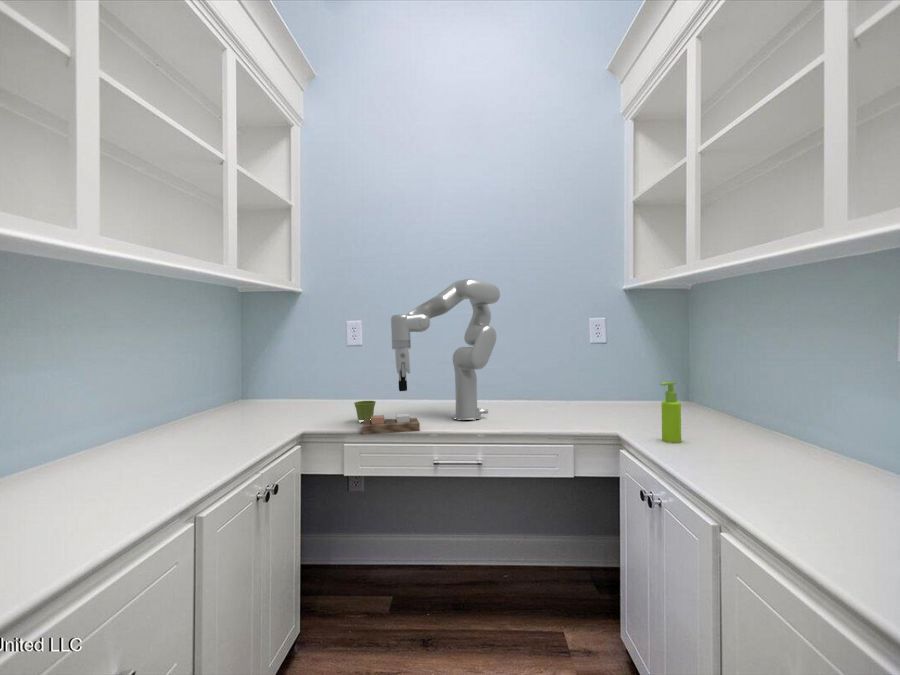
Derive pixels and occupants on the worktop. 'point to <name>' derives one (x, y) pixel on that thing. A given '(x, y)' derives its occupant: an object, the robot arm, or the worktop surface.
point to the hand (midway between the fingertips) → (403, 390)
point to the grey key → (402, 418)
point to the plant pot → (365, 409)
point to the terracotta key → (377, 419)
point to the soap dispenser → (671, 415)
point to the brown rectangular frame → (390, 426)
